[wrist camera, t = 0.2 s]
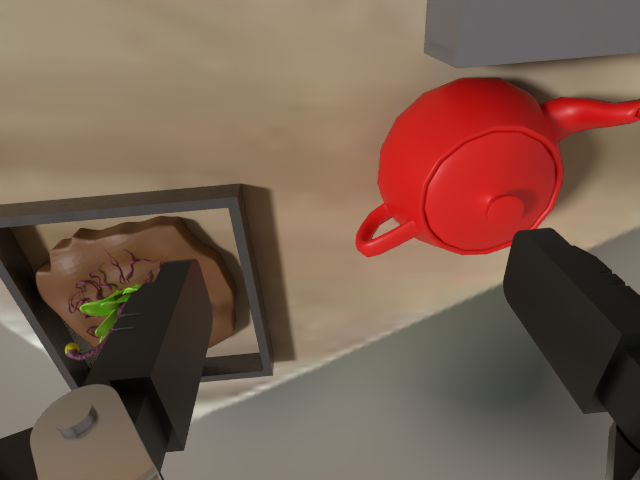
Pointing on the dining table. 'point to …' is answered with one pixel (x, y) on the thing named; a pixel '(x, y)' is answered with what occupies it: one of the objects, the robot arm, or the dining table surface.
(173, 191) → the rectangular frame
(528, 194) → the teapot
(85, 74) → the dining table surface
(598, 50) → the housing
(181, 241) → the miniature garden
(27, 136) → the dining table surface
